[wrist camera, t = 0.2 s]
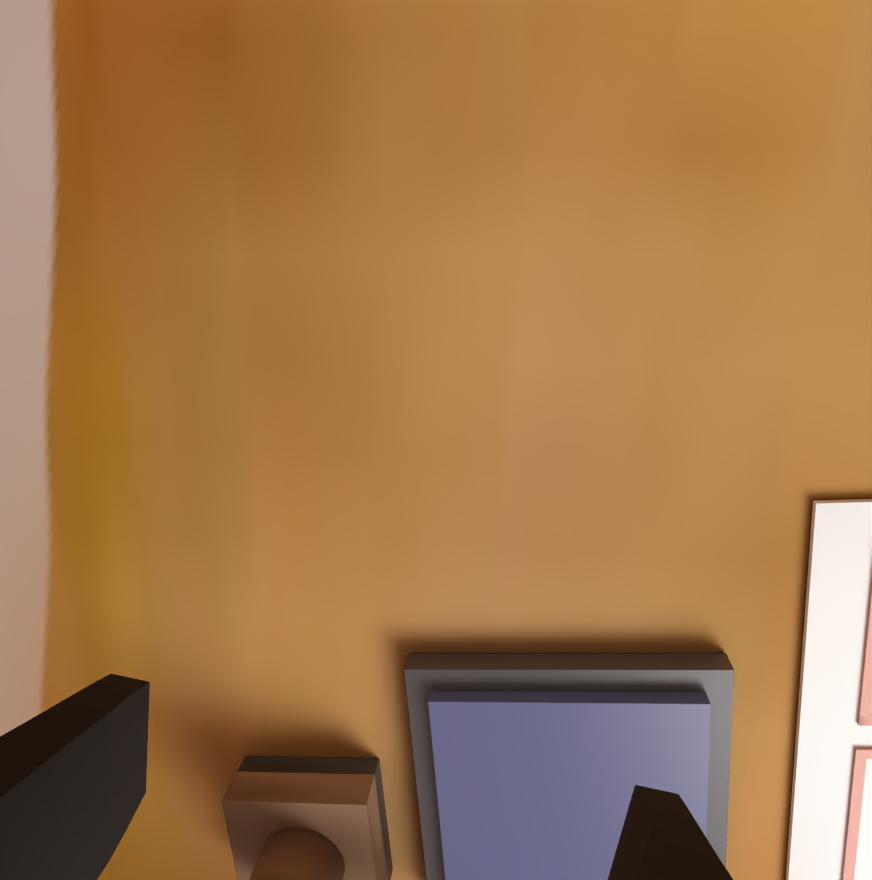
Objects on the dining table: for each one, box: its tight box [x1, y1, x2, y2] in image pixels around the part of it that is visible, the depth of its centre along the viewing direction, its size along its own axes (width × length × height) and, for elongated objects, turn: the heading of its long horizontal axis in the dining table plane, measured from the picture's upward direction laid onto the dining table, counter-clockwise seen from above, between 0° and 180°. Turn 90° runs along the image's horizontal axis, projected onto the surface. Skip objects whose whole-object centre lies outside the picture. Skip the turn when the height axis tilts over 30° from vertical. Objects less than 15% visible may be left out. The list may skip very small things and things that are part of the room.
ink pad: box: [404, 653, 734, 880], centre depth 21 cm, size 9×9×1 cm
